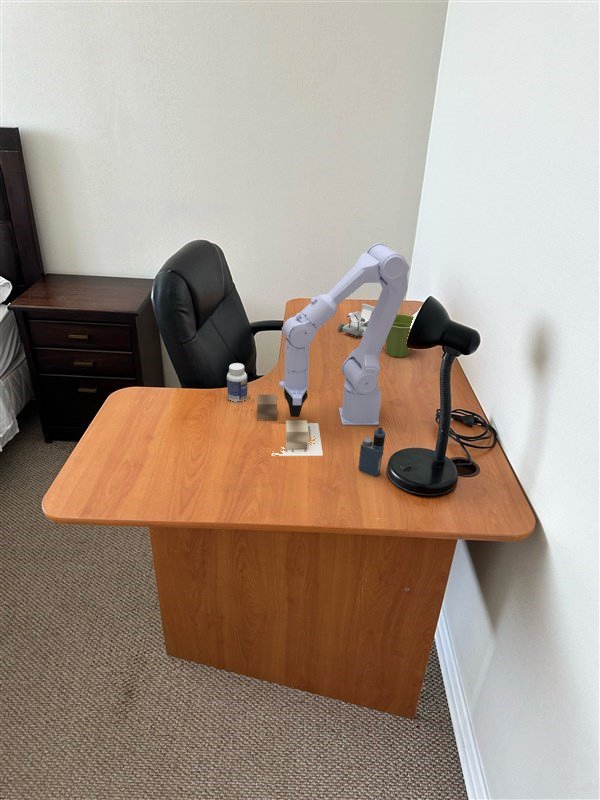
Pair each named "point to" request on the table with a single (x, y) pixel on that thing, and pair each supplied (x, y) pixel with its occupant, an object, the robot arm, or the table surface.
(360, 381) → the robot arm
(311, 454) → the letter
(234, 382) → the pill bottle
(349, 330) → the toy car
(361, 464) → the vaping device
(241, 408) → the table surface
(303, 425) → the beech block
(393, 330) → the plant pot
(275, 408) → the walnut block
